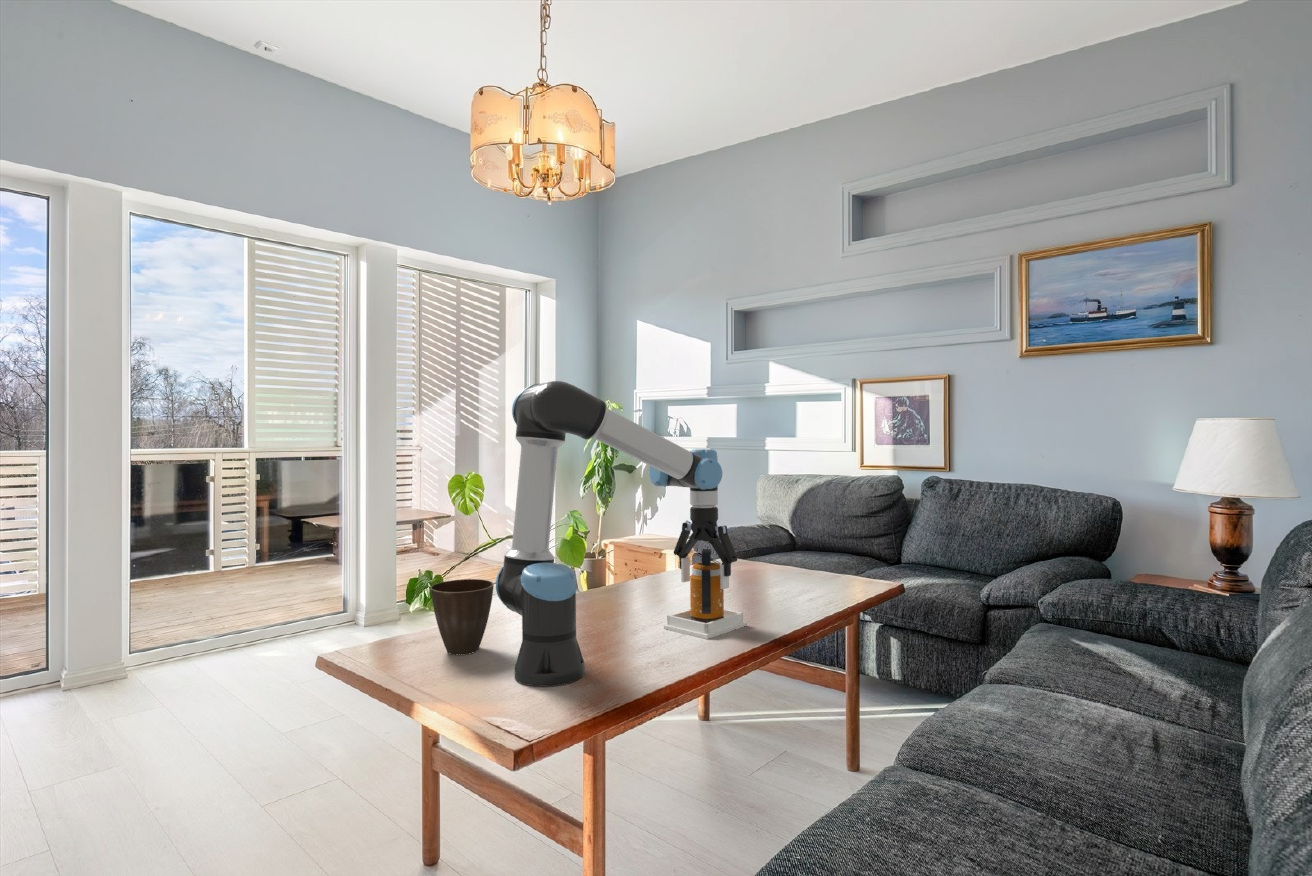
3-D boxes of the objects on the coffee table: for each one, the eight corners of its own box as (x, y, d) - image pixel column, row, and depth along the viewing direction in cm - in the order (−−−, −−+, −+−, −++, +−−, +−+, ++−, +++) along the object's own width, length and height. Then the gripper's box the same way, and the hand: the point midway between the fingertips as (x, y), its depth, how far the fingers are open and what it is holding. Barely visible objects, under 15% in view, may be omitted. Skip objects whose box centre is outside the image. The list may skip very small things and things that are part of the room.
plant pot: (507, 647, 175) (506, 582, 175) (459, 664, 162) (458, 594, 162) (466, 638, 183) (465, 576, 183) (418, 653, 171) (417, 587, 171)
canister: (724, 619, 196) (723, 546, 196) (723, 630, 185) (722, 553, 185) (691, 618, 197) (690, 546, 197) (689, 629, 186) (688, 553, 186)
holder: (707, 639, 180) (706, 625, 180) (663, 628, 190) (663, 615, 190) (746, 625, 192) (746, 612, 192) (704, 616, 203) (703, 604, 203)
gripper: (750, 508, 186) (750, 589, 186) (678, 502, 203) (679, 576, 203) (732, 510, 180) (733, 593, 180) (660, 504, 197) (661, 580, 197)
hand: (704, 585), depth 191 cm, fingers open, 13 cm apart
